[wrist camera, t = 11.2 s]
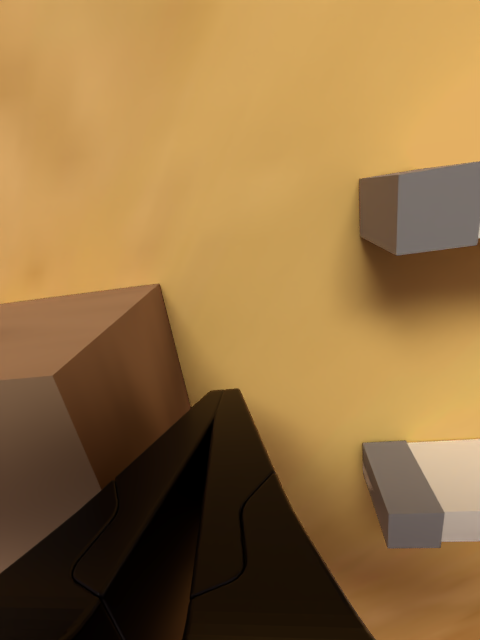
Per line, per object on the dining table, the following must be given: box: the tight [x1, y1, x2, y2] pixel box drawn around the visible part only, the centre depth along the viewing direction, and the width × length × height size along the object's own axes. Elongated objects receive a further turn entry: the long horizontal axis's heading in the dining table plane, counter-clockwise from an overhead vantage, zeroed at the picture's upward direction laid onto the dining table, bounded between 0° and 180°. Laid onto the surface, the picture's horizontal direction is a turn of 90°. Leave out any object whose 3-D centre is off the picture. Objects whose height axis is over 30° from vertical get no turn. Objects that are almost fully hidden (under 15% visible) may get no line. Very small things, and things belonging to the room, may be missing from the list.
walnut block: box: [0, 284, 191, 573], centre depth 9 cm, size 6×6×5 cm
